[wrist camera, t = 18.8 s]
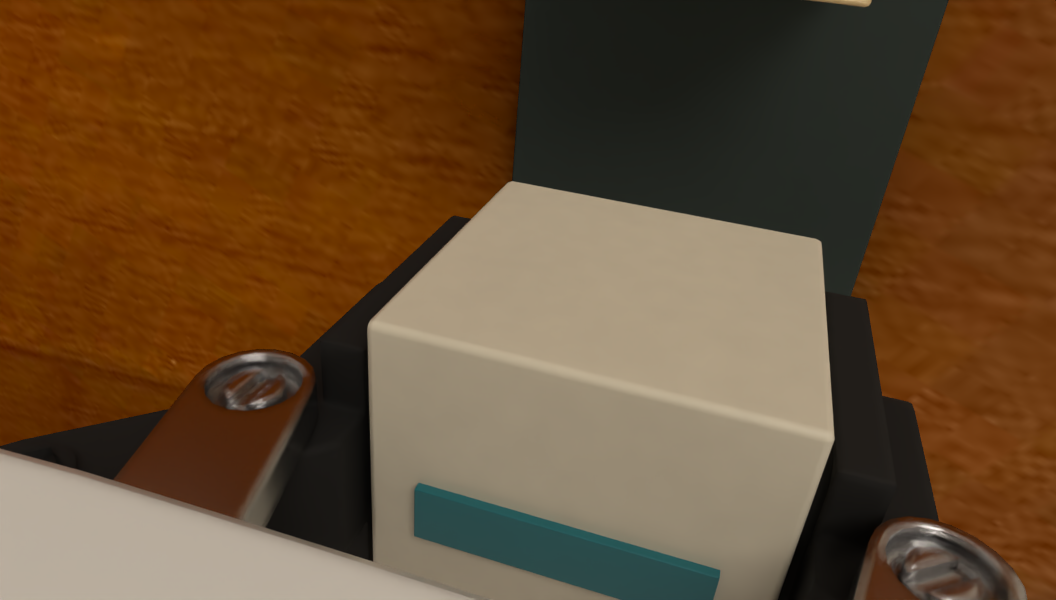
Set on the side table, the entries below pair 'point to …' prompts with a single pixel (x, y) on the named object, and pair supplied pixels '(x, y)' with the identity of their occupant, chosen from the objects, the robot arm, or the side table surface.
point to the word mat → (726, 109)
